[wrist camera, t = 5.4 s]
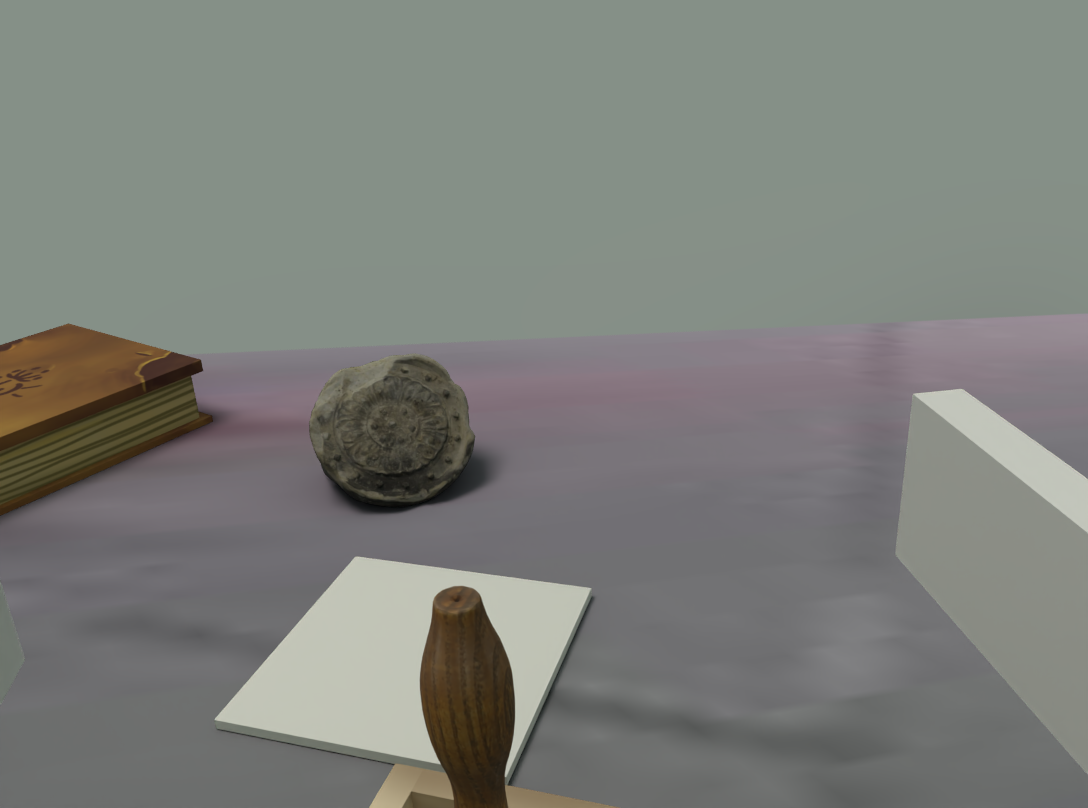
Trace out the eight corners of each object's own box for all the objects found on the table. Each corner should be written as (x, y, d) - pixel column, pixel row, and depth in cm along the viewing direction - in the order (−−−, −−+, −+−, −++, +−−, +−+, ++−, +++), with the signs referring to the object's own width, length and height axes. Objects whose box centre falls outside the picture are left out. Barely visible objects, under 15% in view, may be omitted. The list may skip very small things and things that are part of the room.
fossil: (367, 529, 60) (306, 374, 60) (316, 538, 68) (262, 401, 67) (510, 466, 66) (456, 325, 66) (448, 481, 74) (399, 355, 73)
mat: (506, 786, 41) (505, 777, 41) (216, 728, 45) (214, 719, 45) (591, 596, 53) (591, 588, 53) (356, 563, 57) (355, 556, 57)
